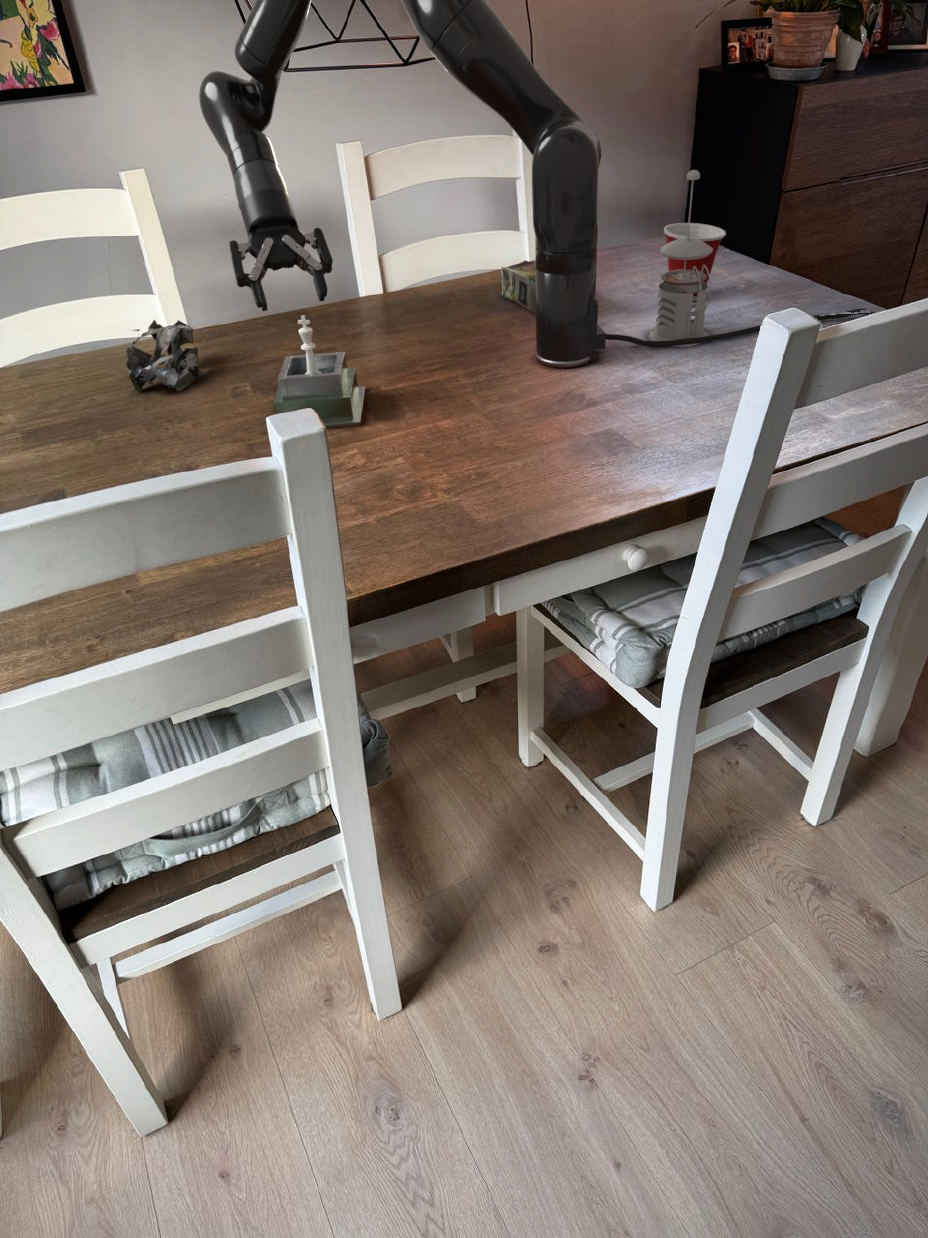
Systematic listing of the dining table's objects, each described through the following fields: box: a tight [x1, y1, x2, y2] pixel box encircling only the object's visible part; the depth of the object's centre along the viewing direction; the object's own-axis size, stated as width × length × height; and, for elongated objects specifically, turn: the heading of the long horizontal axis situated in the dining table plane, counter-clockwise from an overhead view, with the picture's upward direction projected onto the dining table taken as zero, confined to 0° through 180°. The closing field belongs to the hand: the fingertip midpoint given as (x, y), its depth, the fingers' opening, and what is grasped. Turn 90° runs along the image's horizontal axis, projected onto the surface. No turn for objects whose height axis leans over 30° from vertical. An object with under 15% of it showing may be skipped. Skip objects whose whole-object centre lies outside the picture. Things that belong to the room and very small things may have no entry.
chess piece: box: [297, 314, 321, 374], centre depth 123 cm, size 5×5×10 cm
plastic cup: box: [663, 222, 727, 303], centre depth 154 cm, size 11×11×12 cm
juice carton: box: [500, 259, 536, 314], centre depth 158 cm, size 20×10×6 cm, turn 27°
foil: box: [125, 319, 204, 393], centre depth 140 cm, size 12×11×15 cm
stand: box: [272, 351, 366, 429], centre depth 126 cm, size 13×13×7 cm
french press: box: [648, 169, 713, 348], centre depth 134 cm, size 10×12×25 cm
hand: (294, 303), depth 125 cm, fingers open, 8 cm apart
